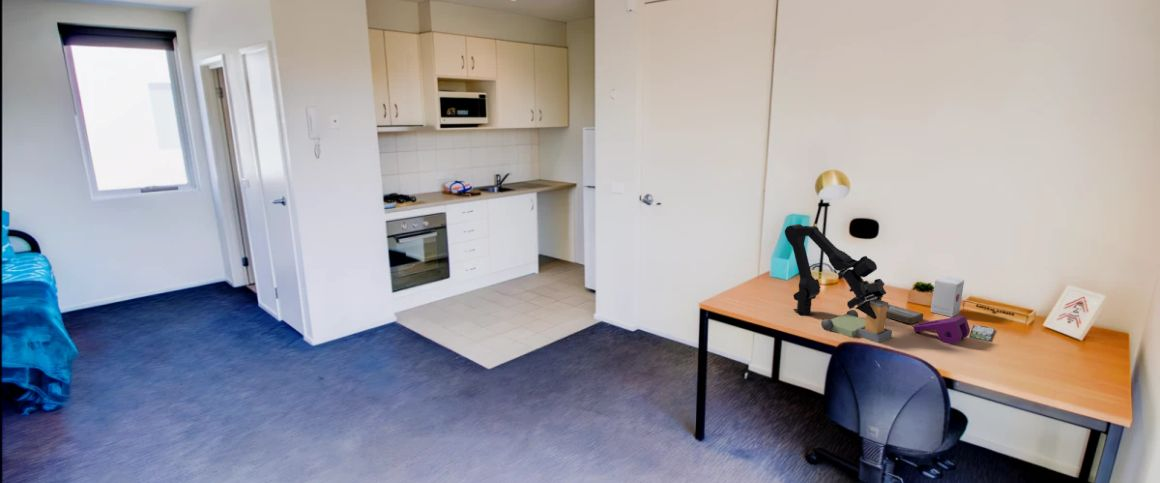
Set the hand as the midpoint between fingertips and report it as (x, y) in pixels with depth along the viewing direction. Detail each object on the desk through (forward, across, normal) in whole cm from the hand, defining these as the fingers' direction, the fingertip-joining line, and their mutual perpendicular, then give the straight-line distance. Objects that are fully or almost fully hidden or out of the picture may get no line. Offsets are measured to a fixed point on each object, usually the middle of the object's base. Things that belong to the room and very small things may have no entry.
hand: (879, 317), depth 240 cm
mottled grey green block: (+22, +37, -9) cm, 44 cm away
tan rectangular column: (+4, 0, +6) cm, 7 cm away
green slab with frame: (+1, 0, +11) cm, 11 cm away
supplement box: (+8, +50, +5) cm, 51 cm away
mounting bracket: (+16, +21, -3) cm, 26 cm away
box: (+1, +28, +12) cm, 31 cm away
